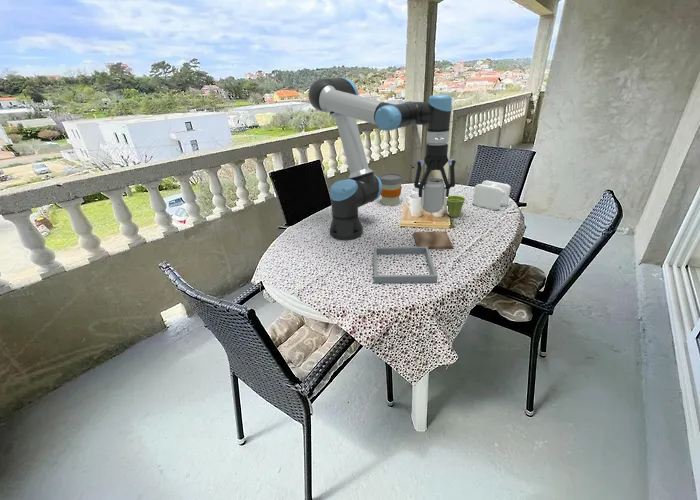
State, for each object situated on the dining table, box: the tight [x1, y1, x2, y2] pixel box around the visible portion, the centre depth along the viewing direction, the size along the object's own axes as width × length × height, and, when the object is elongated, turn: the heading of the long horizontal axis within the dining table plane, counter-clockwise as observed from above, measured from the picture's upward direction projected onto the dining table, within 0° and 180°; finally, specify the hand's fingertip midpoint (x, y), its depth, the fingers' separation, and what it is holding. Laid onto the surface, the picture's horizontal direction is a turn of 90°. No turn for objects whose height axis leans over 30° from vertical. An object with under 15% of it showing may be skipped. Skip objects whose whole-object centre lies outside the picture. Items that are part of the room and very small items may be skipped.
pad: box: [412, 230, 454, 250], centre depth 131 cm, size 14×14×1 cm
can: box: [422, 177, 445, 214], centre depth 119 cm, size 8×8×12 cm
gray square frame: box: [373, 246, 438, 284], centre depth 114 cm, size 21×21×2 cm
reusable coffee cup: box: [378, 173, 403, 207], centre depth 171 cm, size 13×12×15 cm
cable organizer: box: [472, 179, 511, 211], centre depth 161 cm, size 15×11×12 cm
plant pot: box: [446, 195, 466, 218], centre depth 153 cm, size 9×9×9 cm
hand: (432, 204), depth 121 cm, fingers closed on can, 7 cm apart
